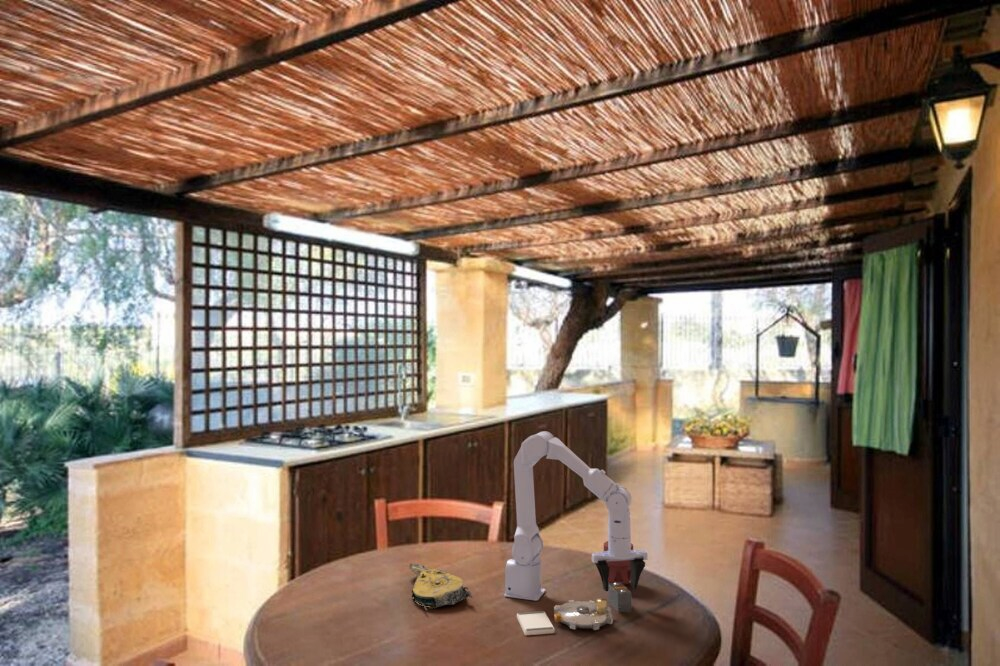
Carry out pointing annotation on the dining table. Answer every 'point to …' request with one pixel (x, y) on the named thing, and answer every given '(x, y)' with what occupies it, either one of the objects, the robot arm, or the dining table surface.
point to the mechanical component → (619, 569)
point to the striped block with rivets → (620, 597)
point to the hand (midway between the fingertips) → (620, 588)
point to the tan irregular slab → (437, 587)
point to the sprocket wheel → (584, 614)
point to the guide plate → (535, 623)
